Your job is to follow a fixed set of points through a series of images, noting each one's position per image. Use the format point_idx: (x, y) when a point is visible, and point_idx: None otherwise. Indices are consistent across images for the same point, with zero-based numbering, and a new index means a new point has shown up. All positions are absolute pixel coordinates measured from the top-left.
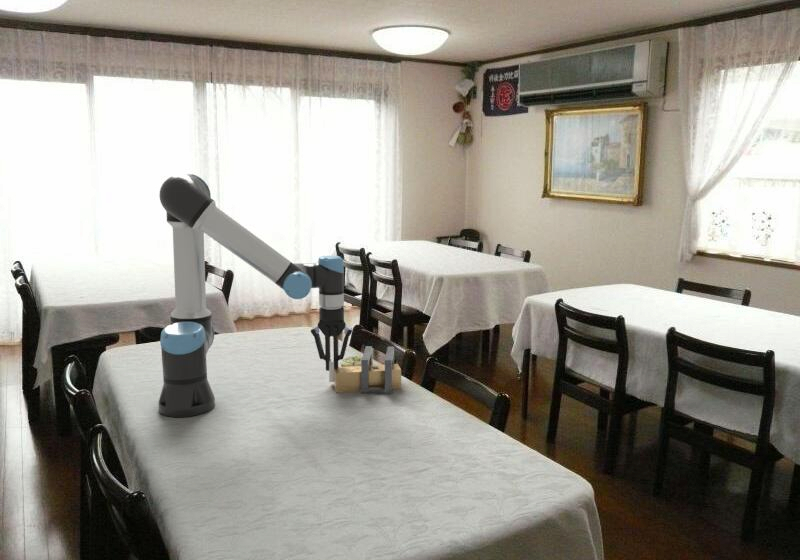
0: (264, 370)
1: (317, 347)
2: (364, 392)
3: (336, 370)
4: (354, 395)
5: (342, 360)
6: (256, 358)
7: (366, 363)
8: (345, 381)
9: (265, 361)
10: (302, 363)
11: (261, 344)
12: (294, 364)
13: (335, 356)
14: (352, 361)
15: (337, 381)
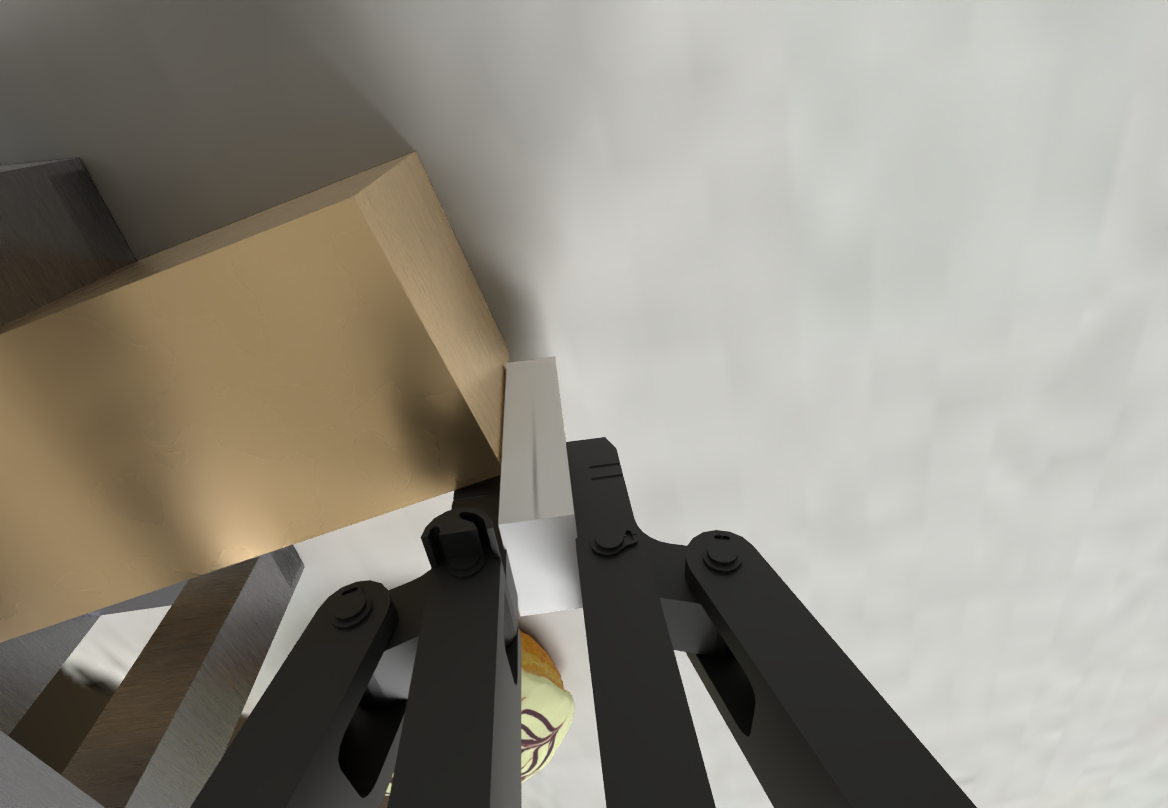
0: (1077, 546)
1: (910, 748)
2: (30, 163)
3: (409, 355)
4: (127, 66)
5: (561, 728)
6: (1079, 679)
7: None
8: (259, 222)
9: (1039, 658)
10: None
11: (1016, 796)
12: (873, 657)
13: (460, 613)
14: None
15: (364, 181)
